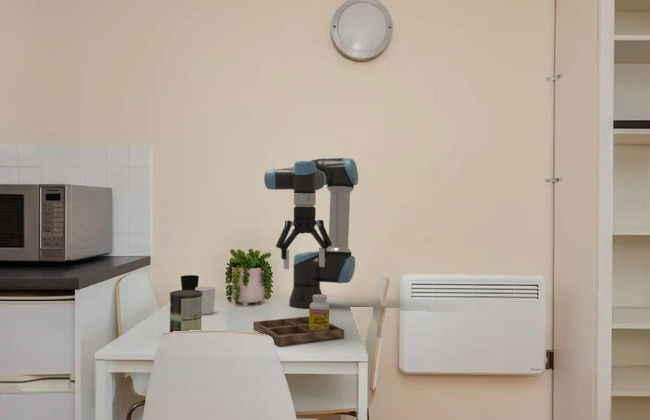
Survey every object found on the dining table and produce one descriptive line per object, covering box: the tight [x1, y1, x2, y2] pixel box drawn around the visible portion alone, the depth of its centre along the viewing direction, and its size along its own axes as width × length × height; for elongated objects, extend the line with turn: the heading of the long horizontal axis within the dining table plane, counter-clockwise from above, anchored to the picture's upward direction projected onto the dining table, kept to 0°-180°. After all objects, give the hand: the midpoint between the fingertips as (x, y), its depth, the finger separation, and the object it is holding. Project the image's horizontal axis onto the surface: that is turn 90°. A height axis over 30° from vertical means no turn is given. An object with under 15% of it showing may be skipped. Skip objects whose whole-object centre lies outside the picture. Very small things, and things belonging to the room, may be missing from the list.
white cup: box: [195, 285, 216, 315], centre depth 197 cm, size 8×8×10 cm
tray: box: [252, 315, 345, 348], centre depth 165 cm, size 23×23×3 cm
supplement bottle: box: [308, 294, 330, 333], centre depth 163 cm, size 7×7×13 cm
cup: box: [180, 274, 200, 290], centre depth 215 cm, size 8×8×12 cm
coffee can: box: [169, 289, 203, 333], centre depth 162 cm, size 10×10×14 cm
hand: (304, 267), depth 169 cm, fingers open, 13 cm apart
